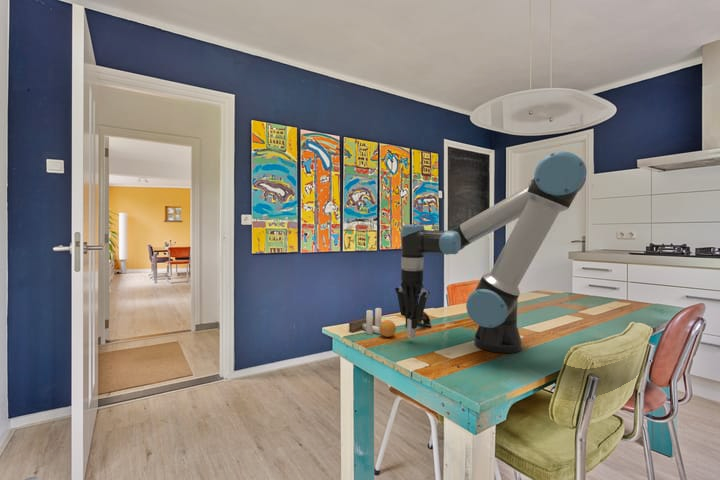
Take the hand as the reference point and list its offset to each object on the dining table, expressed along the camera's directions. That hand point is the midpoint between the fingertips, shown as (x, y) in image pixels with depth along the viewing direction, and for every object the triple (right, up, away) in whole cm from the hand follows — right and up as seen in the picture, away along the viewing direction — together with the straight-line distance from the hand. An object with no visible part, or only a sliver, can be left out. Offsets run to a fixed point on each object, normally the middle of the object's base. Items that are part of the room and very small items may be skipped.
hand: (411, 336), depth 126 cm
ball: (-8, +1, +6) cm, 10 cm away
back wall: (-17, -1, +16) cm, 23 cm away
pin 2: (-11, -1, +14) cm, 17 cm away
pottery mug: (+6, -1, +20) cm, 21 cm away
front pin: (-10, 0, +9) cm, 13 cm away
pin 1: (-14, -1, +10) cm, 17 cm away
